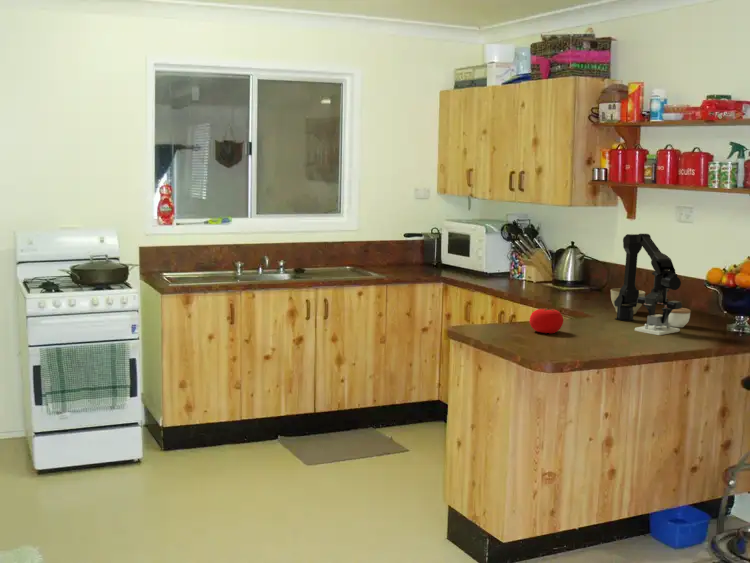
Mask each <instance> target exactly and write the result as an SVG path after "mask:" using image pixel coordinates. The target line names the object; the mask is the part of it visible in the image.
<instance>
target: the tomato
mask: <svg viewBox="0 0 750 563" xmlns="http://www.w3.org/2000/svg"><path fill="white" fill-rule="evenodd" d="M528 322H529V325H530V326H531V328H532V329H533V331H535V332H538V333H542V334H547V333H549V335H550V334H555V333H557V332H558V331H560V330H561V328H562V327H563V324H564V317H563V314H562V313H561V312H560V311H559V310H557V309H555V308H549V307H546V308H538V309H535V310H534V311H533V312H531V314H530V316H529V321H528Z"/></svg>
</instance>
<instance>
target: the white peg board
mask: <svg viewBox="0 0 750 563" xmlns="http://www.w3.org/2000/svg"><path fill="white" fill-rule="evenodd" d="M680 330H681V329H680V328H679V327H672V326H670V323H668V325H666V326H658V327H656V326H655V325H653V326H650V325H648V324H647V323H644V325H643V326H638V327H634V331H635V332H640V333H645V334H650V335H657V336H663V335H668V334H673V333H678V332H680Z"/></svg>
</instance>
